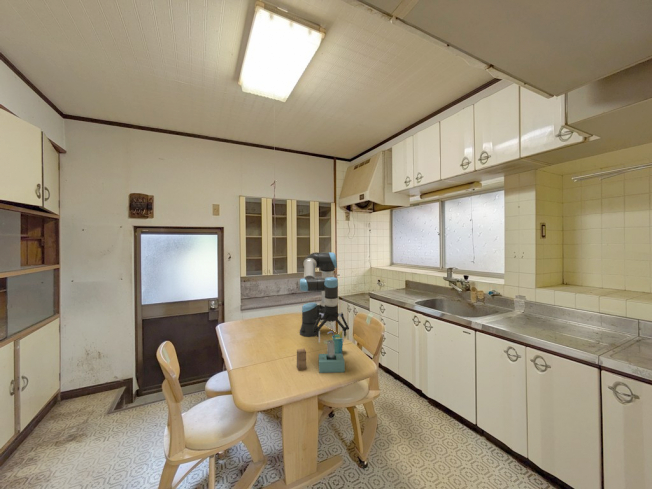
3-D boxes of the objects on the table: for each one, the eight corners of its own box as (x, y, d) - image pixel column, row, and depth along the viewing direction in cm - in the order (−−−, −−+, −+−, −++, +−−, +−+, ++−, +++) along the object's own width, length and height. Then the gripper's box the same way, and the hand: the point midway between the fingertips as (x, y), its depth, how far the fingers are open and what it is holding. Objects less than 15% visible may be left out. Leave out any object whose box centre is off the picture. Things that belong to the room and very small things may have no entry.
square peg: (296, 366, 145) (296, 349, 145) (304, 365, 146) (304, 348, 146) (298, 370, 141) (298, 352, 141) (306, 369, 142) (306, 351, 142)
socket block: (318, 364, 148) (318, 353, 148) (342, 363, 149) (342, 353, 149) (319, 372, 138) (319, 362, 138) (344, 372, 139) (344, 361, 139)
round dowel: (327, 366, 145) (327, 340, 145) (334, 366, 146) (333, 340, 145) (327, 369, 141) (327, 343, 141) (335, 369, 142) (334, 343, 141)
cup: (330, 357, 156) (330, 333, 156) (324, 353, 163) (324, 330, 163) (349, 353, 163) (349, 329, 163) (342, 348, 170) (342, 326, 169)
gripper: (309, 307, 139) (309, 345, 139) (354, 306, 140) (353, 344, 141) (309, 303, 146) (309, 339, 147) (351, 302, 147) (351, 338, 148)
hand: (331, 341), depth 144 cm, fingers open, 13 cm apart
